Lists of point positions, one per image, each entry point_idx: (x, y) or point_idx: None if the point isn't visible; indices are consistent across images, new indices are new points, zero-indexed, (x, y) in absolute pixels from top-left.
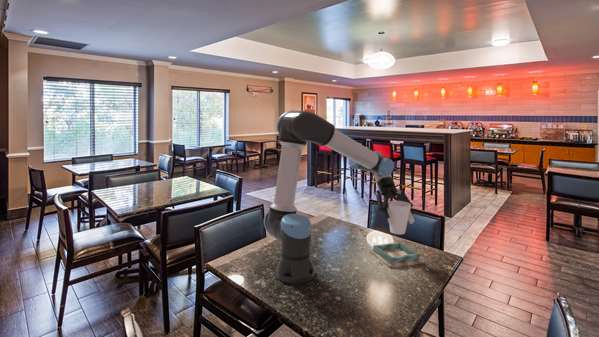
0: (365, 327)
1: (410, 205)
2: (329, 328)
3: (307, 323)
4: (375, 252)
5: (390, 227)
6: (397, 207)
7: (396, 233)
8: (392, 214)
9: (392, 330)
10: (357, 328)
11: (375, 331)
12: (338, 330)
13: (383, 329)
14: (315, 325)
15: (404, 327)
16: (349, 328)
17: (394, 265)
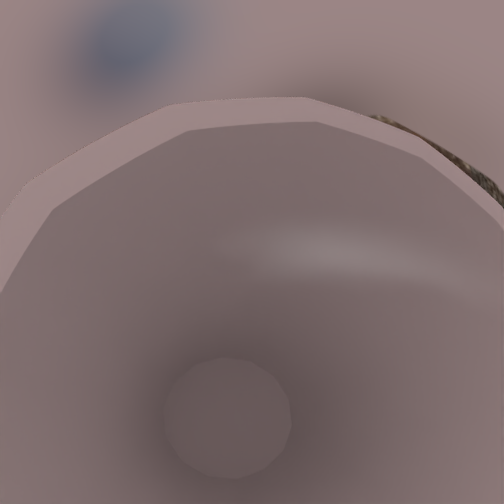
0: (436, 149)
1: (85, 163)
2: (477, 173)
3: (500, 196)
4: None
5: (310, 433)
6: (482, 218)
7: (272, 373)
8: (423, 361)
9: (401, 125)
10: (446, 153)
11: (424, 137)
12: (467, 164)
13: (413, 133)
14: (491, 187)
15: (381, 120)
16: (455, 159)
17: None
